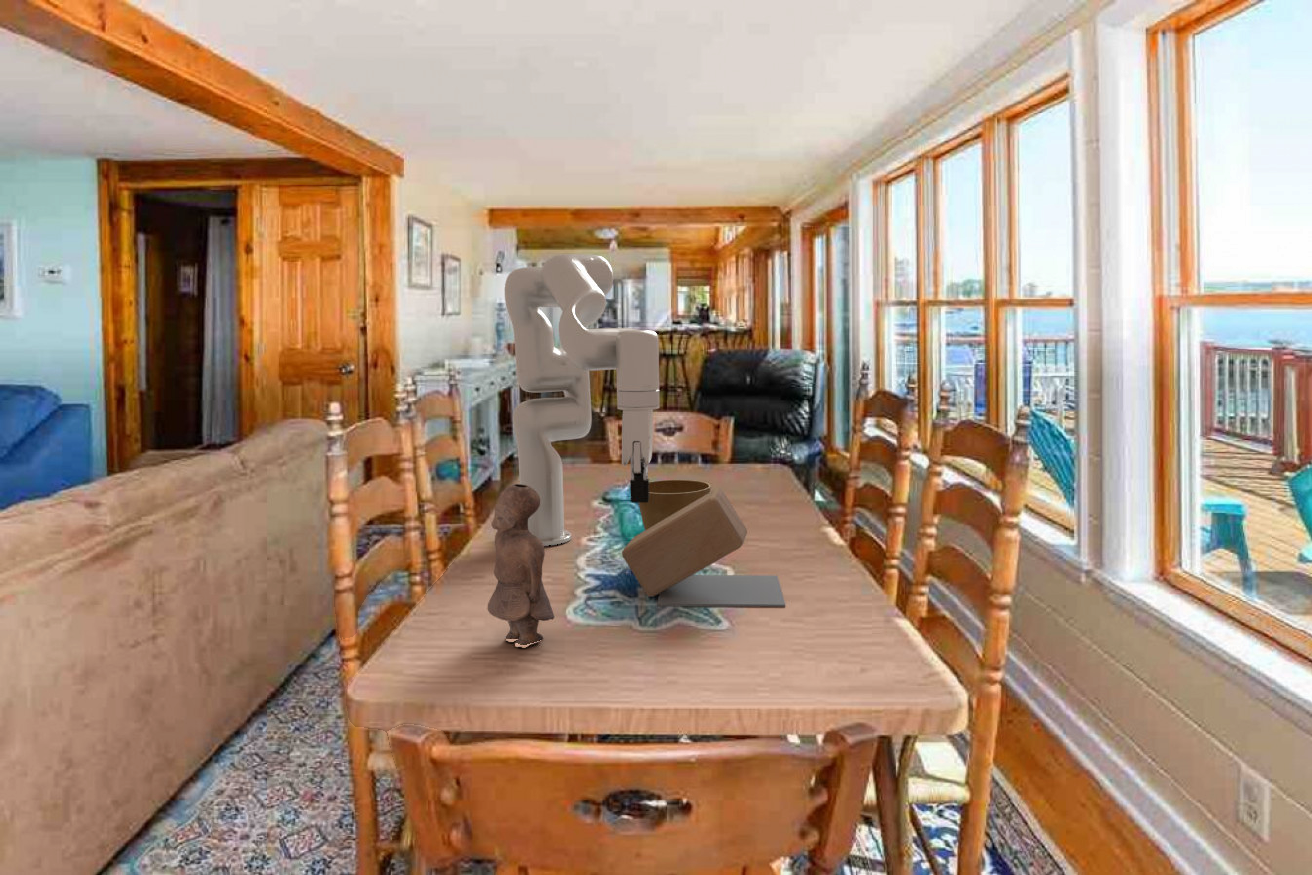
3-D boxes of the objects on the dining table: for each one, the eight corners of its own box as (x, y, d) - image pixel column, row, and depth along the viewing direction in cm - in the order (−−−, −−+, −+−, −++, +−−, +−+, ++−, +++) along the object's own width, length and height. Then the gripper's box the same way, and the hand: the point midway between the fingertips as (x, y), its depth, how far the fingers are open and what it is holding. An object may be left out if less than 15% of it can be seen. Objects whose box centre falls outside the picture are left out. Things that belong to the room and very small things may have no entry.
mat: (657, 605, 156) (657, 603, 156) (662, 576, 173) (662, 574, 173) (785, 606, 155) (785, 604, 155) (777, 577, 172) (777, 575, 172)
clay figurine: (474, 638, 142) (468, 482, 139) (530, 624, 148) (525, 474, 145) (515, 662, 132) (509, 495, 128) (572, 646, 138) (568, 486, 134)
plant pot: (719, 556, 187) (719, 480, 185) (699, 576, 173) (698, 495, 171) (651, 550, 192) (650, 476, 189) (626, 570, 178) (625, 490, 176)
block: (648, 600, 159) (744, 546, 154) (618, 552, 159) (713, 497, 154) (658, 583, 169) (749, 531, 164) (630, 538, 169) (720, 485, 164)
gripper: (621, 396, 167) (623, 493, 170) (612, 404, 153) (614, 510, 155) (661, 395, 167) (662, 493, 170) (656, 404, 152) (658, 510, 155)
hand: (639, 501), depth 162 cm, fingers closed
